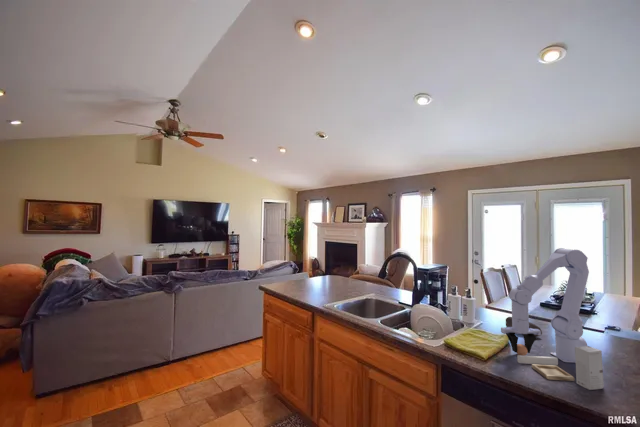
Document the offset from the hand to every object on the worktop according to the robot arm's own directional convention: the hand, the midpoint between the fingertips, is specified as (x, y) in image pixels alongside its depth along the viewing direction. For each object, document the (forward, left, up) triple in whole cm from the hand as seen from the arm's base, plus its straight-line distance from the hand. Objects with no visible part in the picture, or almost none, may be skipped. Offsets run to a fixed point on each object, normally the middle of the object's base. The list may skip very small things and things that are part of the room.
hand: (521, 351), depth 118 cm
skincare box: (-9, +22, -2) cm, 24 cm away
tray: (-2, +15, -1) cm, 15 cm away
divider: (-2, +7, -1) cm, 7 cm away
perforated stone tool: (-16, -26, -2) cm, 31 cm away
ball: (0, 0, -1) cm, 1 cm away
